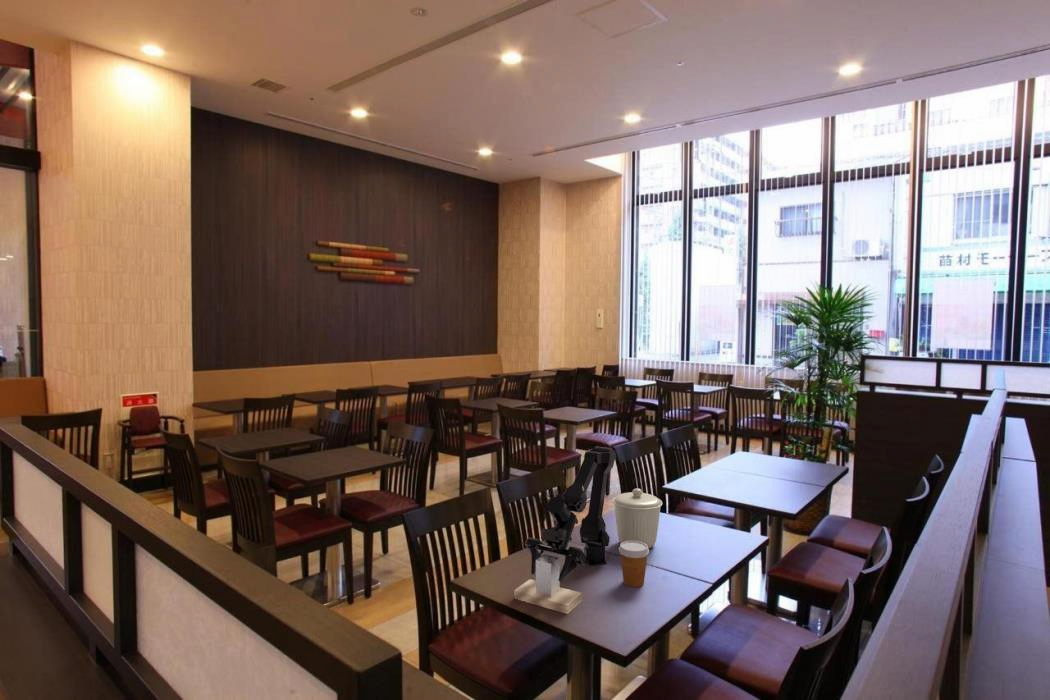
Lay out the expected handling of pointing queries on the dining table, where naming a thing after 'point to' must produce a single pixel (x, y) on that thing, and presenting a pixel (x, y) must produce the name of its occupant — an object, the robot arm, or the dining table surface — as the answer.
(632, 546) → the disposable coffee cup
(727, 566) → the dining table surface
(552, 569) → the white rectangular block
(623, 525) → the canister
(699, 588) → the dining table surface
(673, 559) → the dining table surface
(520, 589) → the birch block
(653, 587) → the dining table surface
